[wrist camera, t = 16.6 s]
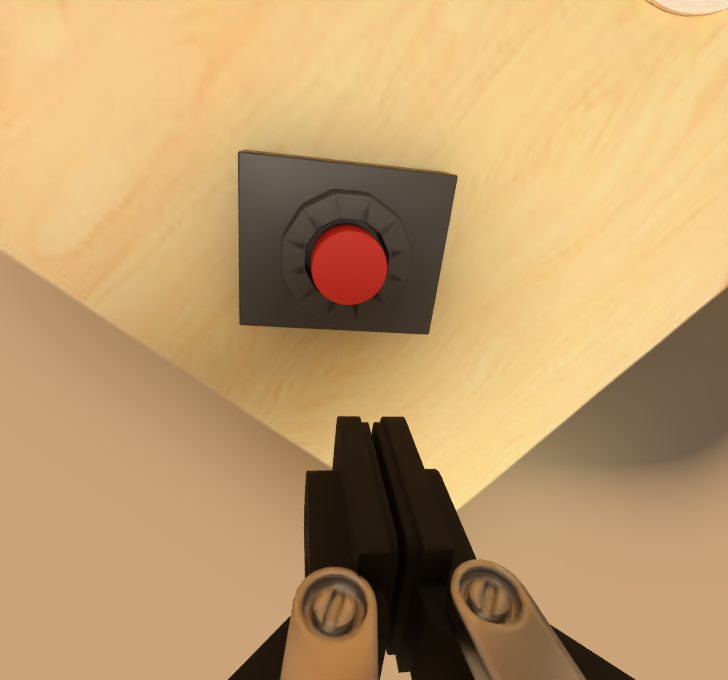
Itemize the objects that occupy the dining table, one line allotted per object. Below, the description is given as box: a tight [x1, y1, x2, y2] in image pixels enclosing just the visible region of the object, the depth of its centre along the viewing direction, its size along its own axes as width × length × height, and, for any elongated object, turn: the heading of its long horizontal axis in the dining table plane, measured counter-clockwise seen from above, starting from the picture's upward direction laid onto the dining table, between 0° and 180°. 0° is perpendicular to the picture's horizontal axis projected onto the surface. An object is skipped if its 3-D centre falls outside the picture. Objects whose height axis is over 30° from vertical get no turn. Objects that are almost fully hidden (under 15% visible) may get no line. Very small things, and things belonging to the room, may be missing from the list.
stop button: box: [311, 224, 387, 305], centre depth 21 cm, size 4×4×2 cm
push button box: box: [238, 150, 457, 334], centre depth 24 cm, size 11×9×4 cm
